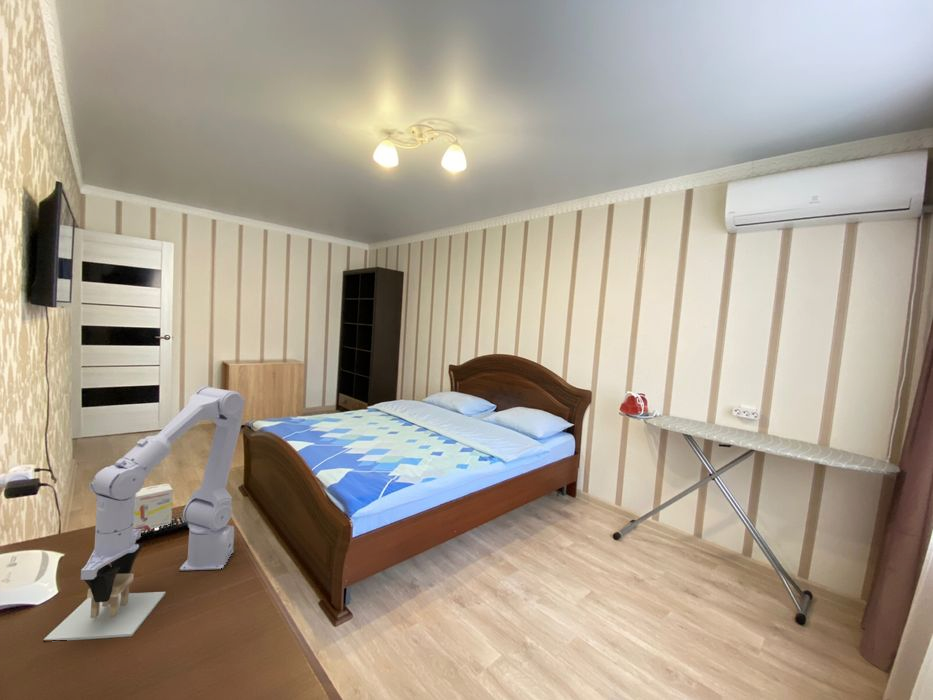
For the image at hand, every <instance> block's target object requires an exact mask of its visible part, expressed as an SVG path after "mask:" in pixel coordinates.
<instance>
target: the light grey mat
mask: <svg viewBox="0 0 933 700" xmlns="http://www.w3.org/2000/svg"><path fill="white" fill-rule="evenodd" d="M166 594H167V593H166V591H153V592H151V591H150V592H149V591H148V592H129V596H128V603H127V604H126V605H125V606H120V601H121V593H120V594H119V599H118V614H117V615H116V616H115V617H109V613H110V604H109V605H108V606H107V607H102V602H100V607H99V615H98V616H97V617H96V618H90V616H91V600H92V598H86V599H85V600H84V601H83V602H82V603H80V605H78V607H76V608H75V609H74V610H73V612H71V613H70V614H69V615H68V616H67V617H65V618H64V620H62V622H61V623H60V624H58V625H57V626H56V627H55V628H54V629H52V631H51V632H50V633H49V634H48V635H47V636H46V637H44V638H43V640H67V641H79V640H80V641H81V640H96V639H109V638H112V639H113V638H126V637H128V638H129V637H132V636H133V635H134V634H135V633H136V631H137V630H138V629H139V628H140V626H141V625H142V624H143V623H144V621H145V620H146V619H147V618H148V616H149V615H150V614H151V613H152V611H153V610H154V609H155V607H157V605H158V604H159V603H160V601H161V600H162V599H163V598H164V597H165V595H166Z"/></svg>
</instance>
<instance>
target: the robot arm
mask: <svg viewBox="0 0 933 700" xmlns="http://www.w3.org/2000/svg"><path fill="white" fill-rule="evenodd" d="M245 402H246V400H245V399H244V397H243V396H242V394H240V392H238V391H237V390H228V389H224V388H223V389H221V388H216V387H212V386H210V385H209V386H208V385H207V386H203V387H200V388H199V389H197V391H196V392H195V393H193V394H192V395H190V397H189V399H188V403H187V404H186V406H184V408H182V410H181V411H179V413H178V414H176V416H174V417H173V419H171V420H170V422H169V423H168V424H166V426H165V427H164V428H163V429H161V431H159V432H158V434H156V435H148V436H145V437H144V438H140V439H139V440H138V441H137V442H136V445H135V446H134V447H133V448H132V449H130V451H128V452H127V453H126V454H124V455H123V456H122V457H121V458H119V459H118V460H117V461H115V464H112V465H109V466H106V467H104V468H102V469H100V470H99V471H98V472H97V473H96V474H95V476H94V478H92V479H93V480H92V481H91V482H90V483H89V484H88V485H89V486H88V487H89V489H90V491H91V492H92V493H93V494H95V502H96V507H95V508H96V512H95V513H96V514H95V528H94V529H95V533H94V534H95V535H94V549H93V551H92V553H91V555H90V556H89V558H88V560H87V562H86V564H85V566H84V567H82V568H81V570H80V576H79V577H80V580H81V581H82V580H83V581H84V582H85V583H86V584H87V585H88V587H89V588H90V589H91V592H92V595H93V598H94V600H95V602H107V601H108V600H109V599H110V596H111V592H112V587H113V582H114V579H115V577H116V574H130V573H131V571H132V569H133V565H134V563H135V560H136V559H137V556H138V555H139V554H140V552H141V550H142V548H143V544H142V543H141V542H137V540H140V538H141V537H142V536H141V529H133V526H134V508H135V494H136V493H137V492H139V491H140V490H141V488H143V486H144V483H145V480H146V479H147V478H148V475H149V473H150V472H151V471H153V470H154V469H155V467H156V466H158V465H159V464H160V463H161V462H162V461H163V460H164V459H166V457H168V455H170V453H171V447H172V446H171V445H172V444H174V442H176V441H177V440H179V439H180V438H181V437H182V436H183V435H185V434H186V432H188V431H189V430H190V429H191V428H193V427H194V426H195V425H197V424H198V423H199V422H201V421H202V420H204V421H205V420H209V419H211V421H212V422H213V423H214V424H215V425H216V426H215V431H214V433H213V434H214V435H213V438H212V440H211V441H212V443H211V446H210V450H209V454H208V458H207V461H206V465H205V468H204V473H203V477H202V480H201V481H202V482H201V484H200V488H198V489H196V490H195V491H192V492H191V494H190V497H189V500H188V501H187V504H185V507H184V508H183V511H182V519H183V521H184V522H186V523H187V528H189V530H188V531H189V532H188V546H187V547H188V548H187V559H186V560H185V561H184V563H182V565H181V566H180V567H179V571H182V572H183V571H203V570H204V571H206V570H209V571H210V570H222V569H224V568H225V566H226V564H227V563H228V561H229V560H230V558H231V557H232V555H233V554H234V551H235V549H234V542H235V541H234V540H235V526H234V525H229V524H228V523H229V522H230V519H231V517H232V515H233V508H232V502H233V497H232V495H231V494H230V493H229V491H228V490H227V485H228V481H229V475H230V473H231V468H232V464H233V460H234V457H235V453H236V452H235V451H236V448H237V444H238V439H239V435H240V432H241V428H242V423H243V410H244V407H245ZM232 553H233V554H232ZM231 554H232V555H231ZM230 556H231V557H230ZM229 557H230V558H229ZM228 559H229V560H228ZM226 562H227V563H226ZM224 565H225V566H224ZM221 568H222V569H221Z"/></svg>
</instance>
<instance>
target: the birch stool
mask: <svg viewBox="0 0 933 700" xmlns="http://www.w3.org/2000/svg"><path fill="white" fill-rule="evenodd" d="M134 575H135V573H131V572H130V574H116V577H115V579H114V582H113V587H112V592H111V596H110V599H109V600H108V601H107V602H102V607H107V606H108V605H109V604H110V613H109V617H115V616H116V615H117V614H118V599H119V594H121V601H120V606H125V605H126V604H127V603H128V596H129V593H130V585H131V584H132V583H133V582H134ZM86 595H87V598H92V600H91V616H90V618H96V617H97V616H98V615H99V607H100V602H95V600H94V598H93V595H92V592H91V589H90V587H89V588H88V589H87V594H86ZM87 598H86V599H87Z"/></svg>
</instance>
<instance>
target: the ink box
mask: <svg viewBox="0 0 933 700" xmlns="http://www.w3.org/2000/svg"><path fill="white" fill-rule="evenodd" d="M173 497H174V488H173V487H172V486H171V484H170V483H162V484H158V485H157V484H156V485H152V486H146V487H142V488H141V490H140V491H139V492H137V493H136V494H135V508H134V526H133V529H141V531H144V530H149V529H153V528H157V527H160V526H164V525H168V524H170V523H171V524H172V516H173V504H174V503H173V501H174V498H173ZM171 509H172V510H171Z"/></svg>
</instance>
